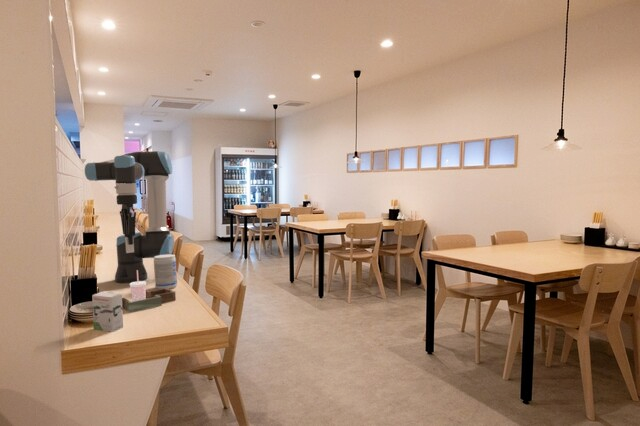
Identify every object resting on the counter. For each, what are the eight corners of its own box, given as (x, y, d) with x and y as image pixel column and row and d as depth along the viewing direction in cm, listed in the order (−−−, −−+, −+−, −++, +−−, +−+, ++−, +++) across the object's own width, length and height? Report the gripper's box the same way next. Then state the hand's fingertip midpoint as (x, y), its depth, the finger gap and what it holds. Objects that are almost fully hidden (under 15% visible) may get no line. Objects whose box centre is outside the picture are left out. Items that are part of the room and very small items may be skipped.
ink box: (92, 329, 142) (90, 294, 142) (105, 324, 147) (103, 290, 146) (112, 332, 139) (110, 296, 138) (124, 327, 144) (122, 292, 143)
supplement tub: (179, 287, 197) (178, 256, 196) (158, 291, 192) (156, 258, 191) (174, 283, 205) (172, 253, 204) (153, 287, 200) (151, 255, 199)
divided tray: (95, 305, 171) (95, 297, 170) (160, 293, 188) (160, 285, 187) (109, 316, 156) (109, 307, 156) (178, 301, 173) (178, 293, 173)
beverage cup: (141, 307, 166) (138, 272, 165) (127, 307, 168) (125, 271, 167) (151, 303, 172) (148, 268, 171) (137, 302, 174) (135, 268, 173)
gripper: (111, 194, 175) (115, 251, 177) (121, 194, 166) (125, 255, 167) (131, 193, 180) (134, 249, 182) (141, 194, 170) (145, 252, 172)
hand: (130, 252), depth 175 cm, fingers closed
